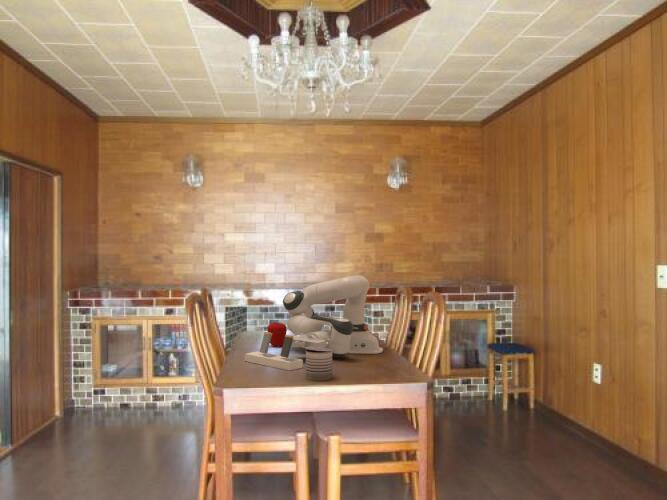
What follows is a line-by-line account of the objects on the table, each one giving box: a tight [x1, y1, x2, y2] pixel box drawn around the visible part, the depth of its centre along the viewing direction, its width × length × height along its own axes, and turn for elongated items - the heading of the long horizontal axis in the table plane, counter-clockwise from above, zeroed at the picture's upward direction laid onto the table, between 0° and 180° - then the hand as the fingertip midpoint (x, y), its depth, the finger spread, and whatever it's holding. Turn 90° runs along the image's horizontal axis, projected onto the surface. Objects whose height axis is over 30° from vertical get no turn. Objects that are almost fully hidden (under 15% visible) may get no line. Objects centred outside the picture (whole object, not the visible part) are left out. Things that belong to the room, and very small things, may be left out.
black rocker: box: [280, 334, 295, 358], centre depth 238 cm, size 2×4×10 cm, turn 50°
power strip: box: [244, 350, 304, 372], centre depth 241 cm, size 8×30×4 cm, turn 50°
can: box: [305, 347, 333, 381], centre depth 218 cm, size 11×11×12 cm
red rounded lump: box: [266, 321, 288, 347], centre depth 288 cm, size 10×10×14 cm
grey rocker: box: [258, 331, 272, 354], centre depth 247 cm, size 2×4×10 cm, turn 50°
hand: (294, 345), depth 243 cm, fingers closed
